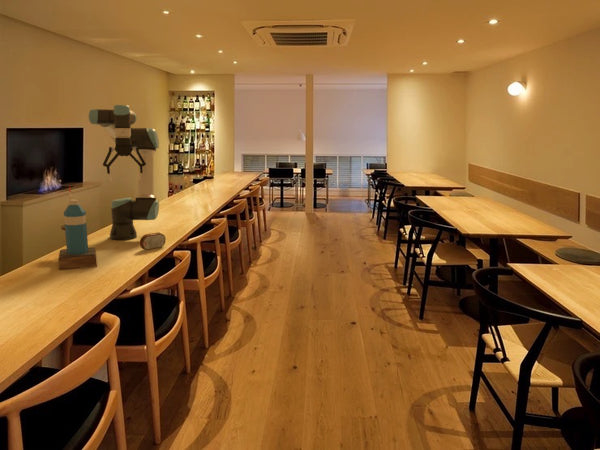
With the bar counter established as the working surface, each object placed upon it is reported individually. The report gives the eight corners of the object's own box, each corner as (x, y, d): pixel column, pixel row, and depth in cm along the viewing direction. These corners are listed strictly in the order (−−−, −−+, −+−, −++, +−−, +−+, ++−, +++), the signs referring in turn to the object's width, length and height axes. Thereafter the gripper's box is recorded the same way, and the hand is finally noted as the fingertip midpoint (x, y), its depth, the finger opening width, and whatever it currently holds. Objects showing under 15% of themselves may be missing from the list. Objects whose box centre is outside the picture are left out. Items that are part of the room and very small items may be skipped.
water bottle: (88, 253, 231) (84, 201, 226) (66, 255, 227) (62, 202, 222) (88, 248, 239) (84, 198, 234) (67, 250, 235) (63, 199, 230)
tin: (163, 245, 272) (162, 231, 271) (166, 246, 270) (166, 231, 269) (139, 250, 261) (138, 235, 259) (143, 251, 259) (142, 236, 257)
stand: (60, 261, 238) (59, 249, 237) (96, 258, 244) (95, 246, 243) (59, 270, 224) (58, 257, 223) (96, 266, 230) (96, 254, 229)
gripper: (96, 137, 232) (98, 181, 237) (150, 137, 242) (152, 180, 246) (95, 136, 239) (98, 179, 243) (148, 137, 249) (150, 178, 253)
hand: (125, 180), depth 245 cm, fingers open, 13 cm apart
